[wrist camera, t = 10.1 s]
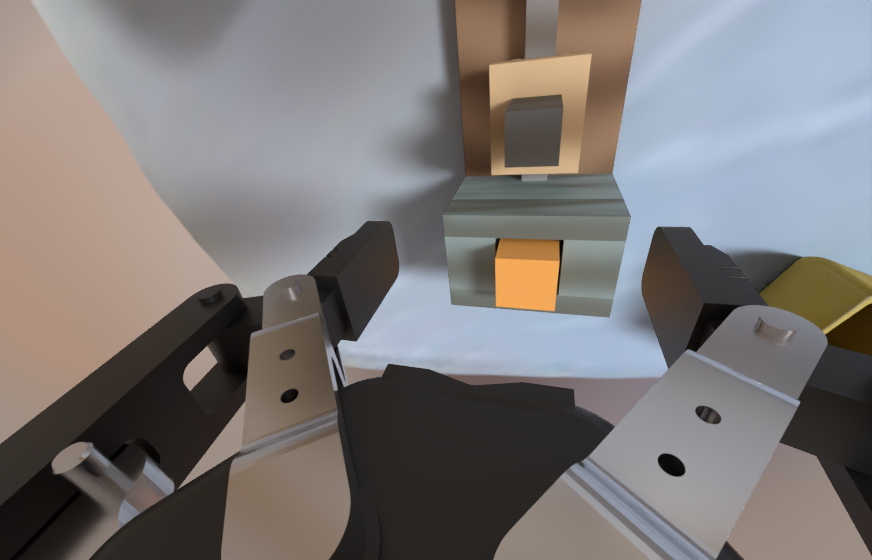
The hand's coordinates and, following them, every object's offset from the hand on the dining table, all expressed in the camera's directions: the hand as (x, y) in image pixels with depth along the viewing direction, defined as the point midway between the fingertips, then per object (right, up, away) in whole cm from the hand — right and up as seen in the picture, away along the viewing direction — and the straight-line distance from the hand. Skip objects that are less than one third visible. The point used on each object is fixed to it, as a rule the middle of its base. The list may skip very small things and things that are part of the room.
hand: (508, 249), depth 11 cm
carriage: (+6, +12, +16) cm, 20 cm away
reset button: (+5, 0, +15) cm, 15 cm away
